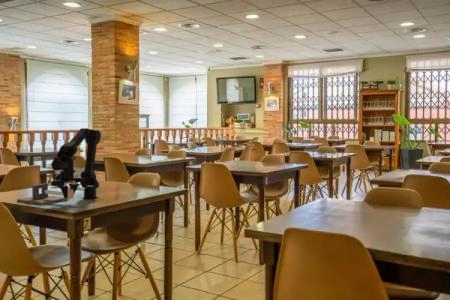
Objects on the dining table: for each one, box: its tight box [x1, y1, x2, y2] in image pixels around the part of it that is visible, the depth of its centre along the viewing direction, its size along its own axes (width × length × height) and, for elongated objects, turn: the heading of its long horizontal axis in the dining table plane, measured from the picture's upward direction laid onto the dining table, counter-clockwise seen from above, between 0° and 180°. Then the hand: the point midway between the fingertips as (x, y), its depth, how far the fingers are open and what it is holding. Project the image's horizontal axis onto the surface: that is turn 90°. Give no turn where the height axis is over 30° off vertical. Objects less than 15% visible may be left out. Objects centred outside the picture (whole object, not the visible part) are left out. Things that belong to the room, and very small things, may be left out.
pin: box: [45, 188, 74, 200], centre depth 260 cm, size 18×4×5 cm, turn 61°
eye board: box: [16, 183, 69, 206], centre depth 266 cm, size 20×18×9 cm
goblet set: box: [54, 166, 85, 188], centre depth 324 cm, size 28×6×13 cm, turn 69°
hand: (68, 197), depth 257 cm, fingers closed on pin, 4 cm apart
